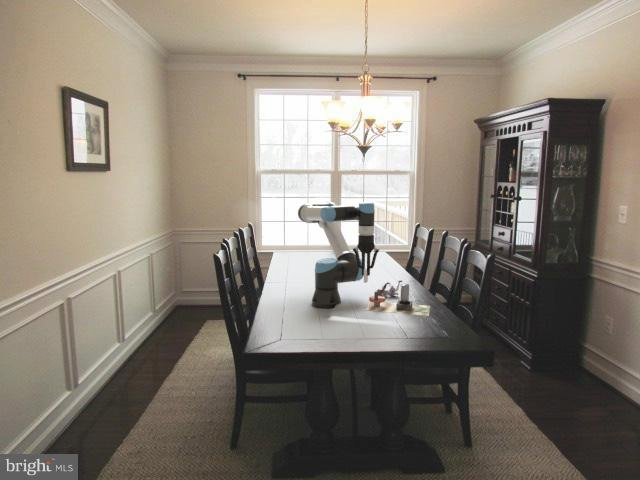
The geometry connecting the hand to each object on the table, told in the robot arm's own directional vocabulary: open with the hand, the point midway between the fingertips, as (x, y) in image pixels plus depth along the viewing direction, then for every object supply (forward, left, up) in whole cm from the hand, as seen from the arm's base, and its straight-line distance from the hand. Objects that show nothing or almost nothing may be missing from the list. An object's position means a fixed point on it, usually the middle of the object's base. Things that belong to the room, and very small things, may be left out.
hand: (365, 281), depth 222 cm
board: (+16, +3, -14) cm, 22 cm away
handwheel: (+5, +3, -13) cm, 14 cm away
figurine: (+9, +22, -15) cm, 28 cm away
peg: (+19, +3, -13) cm, 23 cm away
